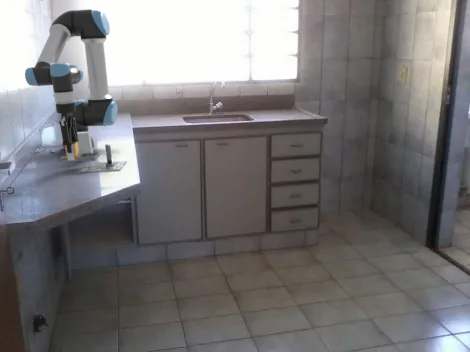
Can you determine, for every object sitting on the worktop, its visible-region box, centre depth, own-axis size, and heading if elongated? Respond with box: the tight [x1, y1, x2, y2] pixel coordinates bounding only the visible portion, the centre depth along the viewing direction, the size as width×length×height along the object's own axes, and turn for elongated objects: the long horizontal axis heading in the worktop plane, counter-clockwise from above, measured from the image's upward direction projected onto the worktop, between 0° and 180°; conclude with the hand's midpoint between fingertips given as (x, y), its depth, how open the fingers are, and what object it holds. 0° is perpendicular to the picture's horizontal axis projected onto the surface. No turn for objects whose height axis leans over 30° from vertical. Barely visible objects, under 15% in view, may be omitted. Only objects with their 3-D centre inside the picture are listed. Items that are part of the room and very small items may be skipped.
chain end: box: [59, 142, 100, 162], centre depth 203 cm, size 15×7×7 cm, turn 90°
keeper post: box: [80, 143, 128, 173], centre depth 203 cm, size 13×16×9 cm
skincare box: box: [76, 131, 94, 155], centre depth 219 cm, size 6×4×12 cm
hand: (73, 158), depth 204 cm, fingers closed on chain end, 4 cm apart
